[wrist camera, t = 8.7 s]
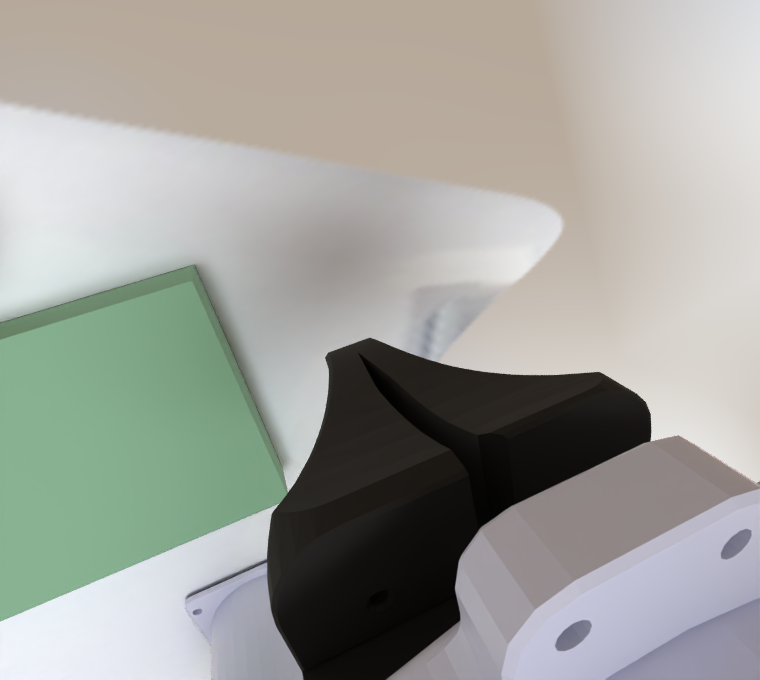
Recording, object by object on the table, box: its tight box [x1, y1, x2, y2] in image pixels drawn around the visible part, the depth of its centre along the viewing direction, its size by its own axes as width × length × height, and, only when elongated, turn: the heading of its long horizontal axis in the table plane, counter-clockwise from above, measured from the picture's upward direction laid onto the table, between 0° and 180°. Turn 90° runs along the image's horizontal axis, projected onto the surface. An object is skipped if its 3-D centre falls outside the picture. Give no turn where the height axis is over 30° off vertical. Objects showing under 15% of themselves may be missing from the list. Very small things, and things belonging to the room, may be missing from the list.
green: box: [0, 265, 288, 621], centre depth 19 cm, size 12×20×2 cm, turn 103°
